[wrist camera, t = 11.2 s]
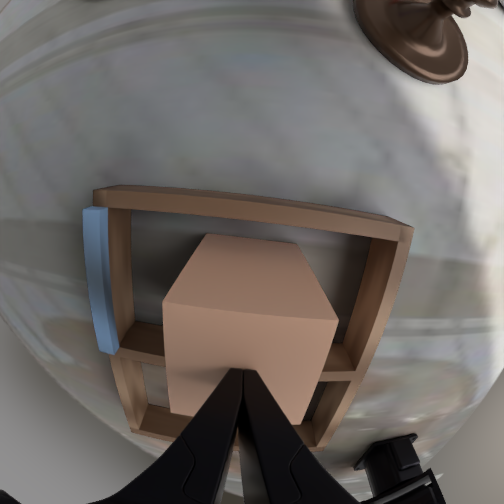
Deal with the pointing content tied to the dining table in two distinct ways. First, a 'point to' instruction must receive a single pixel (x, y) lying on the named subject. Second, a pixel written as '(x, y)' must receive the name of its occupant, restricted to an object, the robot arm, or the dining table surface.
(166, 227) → the dining table surface
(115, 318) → the frame
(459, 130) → the dining table surface
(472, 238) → the dining table surface
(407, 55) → the candlestick
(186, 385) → the plug block
